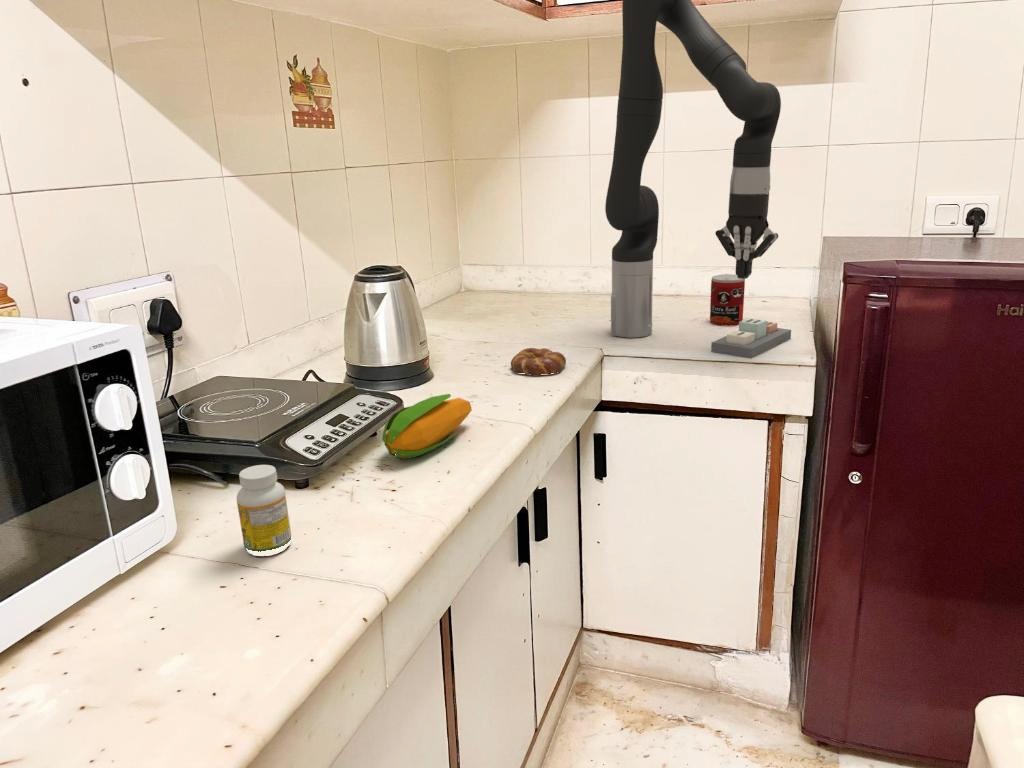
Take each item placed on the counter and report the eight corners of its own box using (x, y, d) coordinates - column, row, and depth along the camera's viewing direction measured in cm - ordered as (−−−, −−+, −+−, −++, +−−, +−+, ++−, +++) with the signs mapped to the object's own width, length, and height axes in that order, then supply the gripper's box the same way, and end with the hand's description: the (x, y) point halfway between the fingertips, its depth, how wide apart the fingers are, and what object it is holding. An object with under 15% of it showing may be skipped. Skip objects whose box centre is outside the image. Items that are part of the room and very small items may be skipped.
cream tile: (725, 350, 161) (726, 334, 160) (735, 346, 164) (736, 330, 163) (744, 353, 158) (745, 336, 157) (753, 349, 161) (754, 332, 160)
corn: (366, 413, 110) (448, 375, 126) (369, 461, 112) (448, 418, 128) (407, 424, 106) (486, 384, 122) (409, 474, 109) (485, 428, 125)
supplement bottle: (290, 555, 87) (279, 478, 85) (241, 561, 87) (229, 484, 84) (294, 532, 93) (283, 459, 90) (248, 538, 92) (236, 464, 89)
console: (711, 351, 161) (711, 342, 160) (752, 333, 174) (752, 324, 174) (751, 358, 155) (752, 348, 155) (790, 338, 168) (791, 329, 168)
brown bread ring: (498, 368, 156) (497, 350, 155) (542, 358, 162) (541, 341, 161) (531, 382, 147) (531, 363, 146) (576, 371, 152) (576, 353, 151)
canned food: (706, 324, 183) (707, 279, 180) (714, 317, 190) (716, 273, 187) (738, 327, 180) (741, 280, 177) (745, 319, 187) (748, 274, 183)
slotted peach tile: (749, 339, 168) (750, 323, 167) (758, 335, 171) (759, 319, 170) (768, 342, 166) (769, 326, 165) (776, 338, 169) (777, 322, 167)
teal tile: (738, 337, 164) (739, 321, 163) (747, 333, 167) (748, 317, 166) (757, 340, 161) (758, 324, 160) (765, 336, 164) (766, 320, 163)
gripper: (709, 191, 152) (704, 277, 158) (773, 193, 144) (765, 284, 149) (727, 188, 158) (722, 272, 163) (790, 190, 149) (782, 278, 155)
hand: (743, 277), depth 156 cm, fingers closed
